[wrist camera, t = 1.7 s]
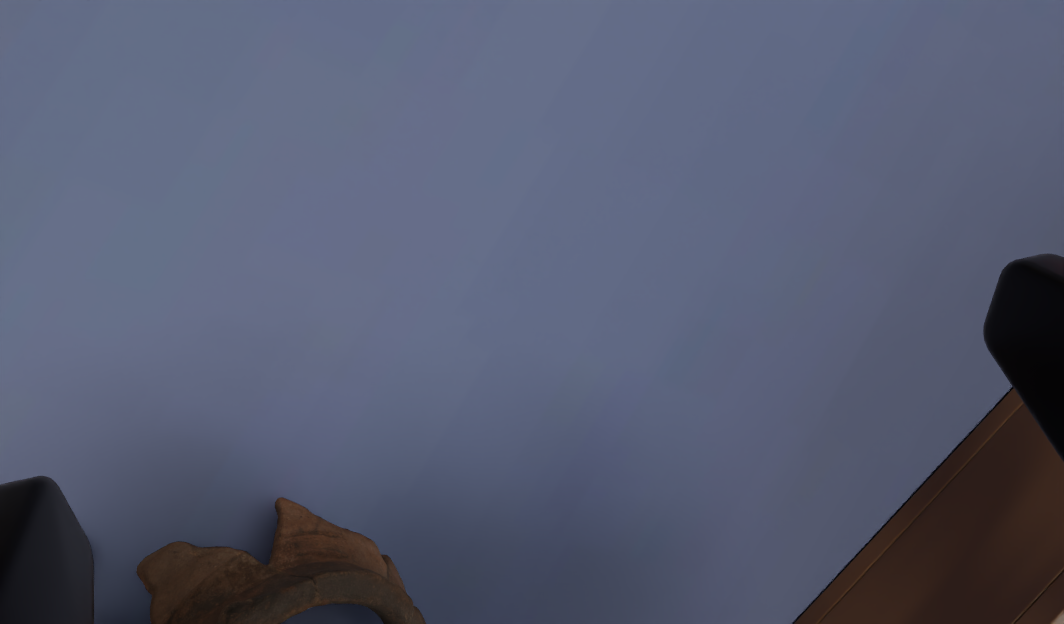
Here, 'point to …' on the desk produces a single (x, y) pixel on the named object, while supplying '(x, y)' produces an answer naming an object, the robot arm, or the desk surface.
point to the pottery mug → (275, 577)
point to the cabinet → (967, 539)
